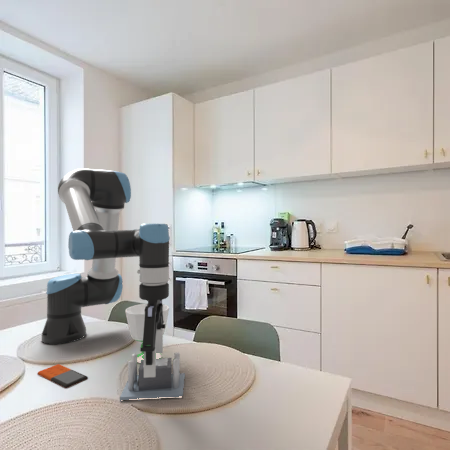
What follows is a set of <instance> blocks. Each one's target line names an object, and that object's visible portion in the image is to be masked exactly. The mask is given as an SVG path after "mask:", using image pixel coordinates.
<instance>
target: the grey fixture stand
mask: <svg viewBox="0 0 450 450" xmlns="http://www.w3.org/2000/svg"><path fill="white" fill-rule="evenodd" d="M137 355H138V354H137V353H133V354H131V360H128V361H127V374H128V375H127V381H126V383H125V385H124V387H123V389H122V392H121V394H120V396H119V402H122V401H121V400H129V399H137V398H138V399H139V398H157V397H158V398H159V397H179V396H183V397H184V390H183V388H184V389H185V381H184V379H185V377H186V373H185V372H182V373H180V368H181V367H180V366H181V364H180V362H181V359H180V355H181V354H180V352H179V351H178V352H174V356H173V357H174V358H173V359H172V381H171V388H167V389H155V390H143V391H139V386H138V378H139V374H138V363H137Z"/></svg>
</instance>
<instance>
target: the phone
mask: <svg viewBox="0 0 450 450" xmlns="http://www.w3.org/2000/svg"><path fill="white" fill-rule="evenodd" d="M37 375H38V376H40V377H42V378H44V379H46V380H48V381H50V382H51V383H54V384H56V385H58V386H59V387H62V388H64V389H68V388H71V387H73V386H76V385H77V384H80V383H82V382H83V381H86V380H88V378H89V377H88V376H87V375H85V374H83V373H80V372H78V371H76V370H73V369H71V368H69V367H67V366H64V365H62V364H60V363H58V364H57V363H56V364H55V365H52V366H50V367H47V368H45V369H41V370H39V371H37Z"/></svg>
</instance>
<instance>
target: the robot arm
mask: <svg viewBox="0 0 450 450" xmlns="http://www.w3.org/2000/svg"><path fill="white" fill-rule="evenodd" d="M57 194H58V198H59V199H60V201H61V202H62V203H63V204H64V205H65V208H66V213H67V214H68V218H69V221H70V225H71V228H72V231H71V232H70V233H69V235H68V245H67V246H68V254H69V257H70V259H72V260H74V261H78V260H82V261H83V260H85V261H92V264H91V266H92V267H91V268H90V269H88V271H87V276H82V275H81V273H68V274H63V275H58V276H56V277H53V278H51V279H49V280H48V281H47V284H46V291H45V294H46V319H45V320H46V321H45V323H44V325H43V326H44V327H43V329H42V332H41V342H42V343H43V342H44V344H46V343H49V345H58V344H57V343H62V344H66V343H65V342H68V343H72V342H75V341H74V340H76V341H78V340H77V339H79V340H81V339H83V338H84V337H86V336H87V327H86V324H85V322H84V318H83V317H82V308H85V307H93V306H100V305H109V304H112V303H116V302H118V300H120V298H121V296H122V292H123V286H124V285H123V277H122V275H121V274H120V273H119V270H117V268H116V262H117V261H116V259H117V258H121V259H122V258H133V257H136V258H137V257H138V258H139V264H138V265H139V269H137V271H136V273H137V274H138V275H139V282H140V284H139V285H138V286H139V289H138V292H139V293H138V295H139V296H138V297H139V299H141V300H142V301H147V303H146V304H147V306H146V307H145V321H144V333H143V345H142V348H140V347H139V348H140V349H139V351H140V352H141V351H142V352H144V378H146V377H155V376H156V353H160V354H163V352H164V351H163V349H164V348H163V346H164V344H163V343H164V342H163V341H164V339H163V338H164V334H163V329H161V328H165V324H163V323H164V321H163V300H166V299H168V297H169V295H170V285H169V283H168V281H170V265H169V264H170V261H169V260H170V230H169V229H170V228H169V225H168V224H166V223H141V224H140V225H139V229H127V230H126V229H121V230H120V229H119V223H120V212H121V211H122V210H124V209H125V204H128V203H129V202H130V201H131V198H132V187H131V182H130V180H129V177H128V176H127V174H126V173H125V172H122V171H121V172H120V171H116V170H110V169H109V170H106V169H94V168H87V167H86V168H76V169H74V170H72V171H69V172H68V173H66V174H65V175H63V177H62V178H61V179H60V181H59V183H58V186H57ZM165 329H166V328H165ZM83 336H84V337H83ZM82 337H83V338H82ZM80 338H81V339H80ZM71 341H72V342H71ZM147 345H151V346H147ZM142 352H141V353H142Z"/></svg>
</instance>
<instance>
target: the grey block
mask: <svg viewBox="0 0 450 450" xmlns="http://www.w3.org/2000/svg"><path fill="white" fill-rule="evenodd" d="M172 374H173V359H172V357H164V358H163V357H162V358H159V359H156V376H155V377H146V378H144V360H141V363H140V364H139V366H138V375H139V378H138V386H139V391H143V390H155V389H167V388H171V381H172Z"/></svg>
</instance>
